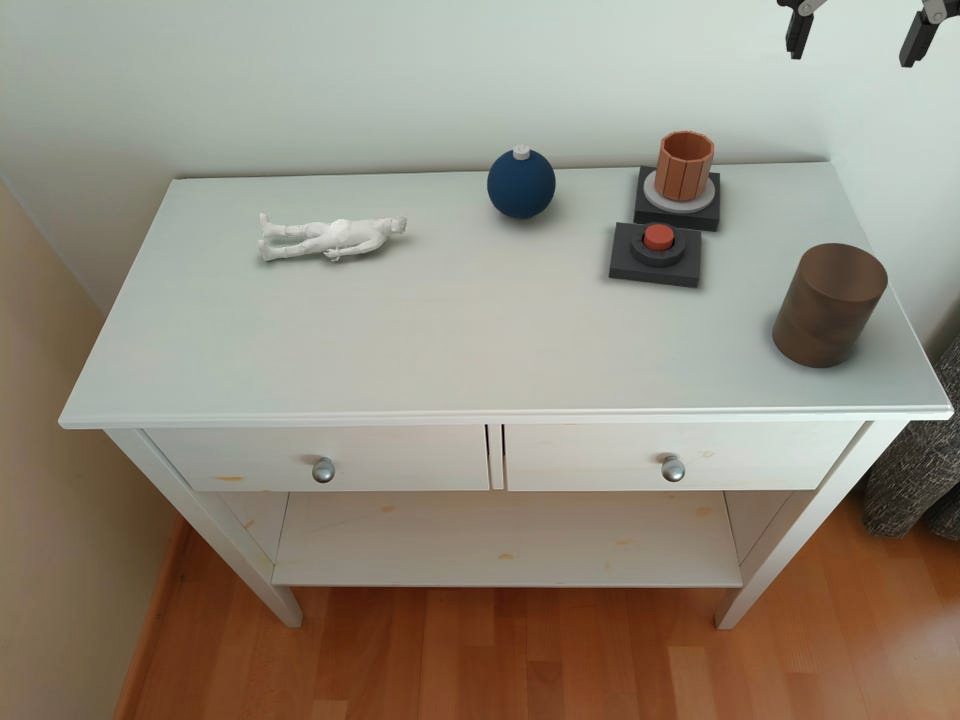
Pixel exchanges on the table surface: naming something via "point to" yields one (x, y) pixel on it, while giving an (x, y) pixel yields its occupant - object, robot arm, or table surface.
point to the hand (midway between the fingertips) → (849, 58)
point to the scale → (677, 204)
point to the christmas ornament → (521, 183)
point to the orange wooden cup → (683, 165)
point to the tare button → (658, 237)
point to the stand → (828, 304)
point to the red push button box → (656, 256)
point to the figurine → (330, 236)
